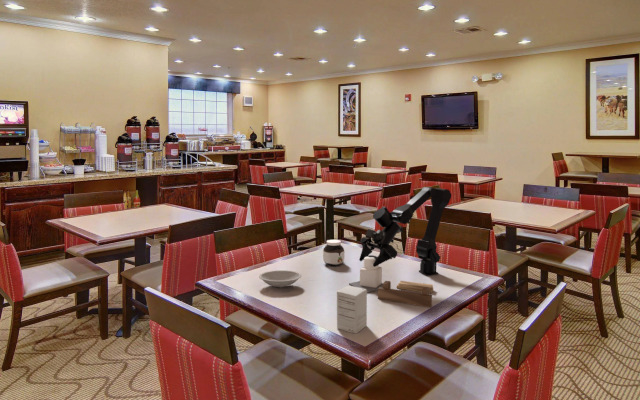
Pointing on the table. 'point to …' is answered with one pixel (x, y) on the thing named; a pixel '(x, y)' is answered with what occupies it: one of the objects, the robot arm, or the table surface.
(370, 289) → the rubber mat
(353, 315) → the supplement box
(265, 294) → the table surface
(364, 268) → the medicine bottle
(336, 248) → the spread jar
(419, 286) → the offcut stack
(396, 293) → the walnut rack
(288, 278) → the dish
